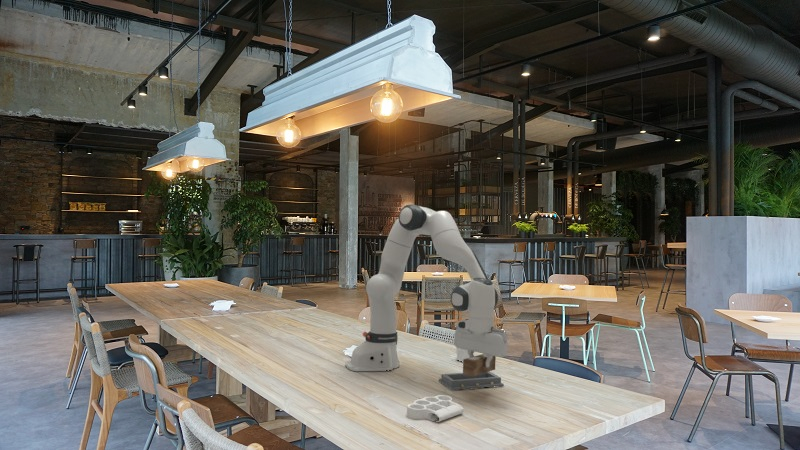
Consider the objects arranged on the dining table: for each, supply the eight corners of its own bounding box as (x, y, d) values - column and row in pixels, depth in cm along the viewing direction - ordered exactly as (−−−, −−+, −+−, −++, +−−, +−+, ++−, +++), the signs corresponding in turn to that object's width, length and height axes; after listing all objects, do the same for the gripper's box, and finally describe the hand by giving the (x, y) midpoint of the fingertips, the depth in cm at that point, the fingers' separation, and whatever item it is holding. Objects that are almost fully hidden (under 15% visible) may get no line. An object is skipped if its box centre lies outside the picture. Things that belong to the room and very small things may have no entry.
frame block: (472, 376, 169) (473, 361, 169) (462, 374, 172) (463, 358, 172) (495, 369, 179) (495, 354, 179) (485, 367, 182) (486, 352, 182)
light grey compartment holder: (432, 427, 147) (396, 414, 157) (470, 413, 159) (435, 401, 170) (432, 416, 147) (397, 403, 157) (470, 403, 159) (435, 391, 170)
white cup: (473, 359, 229) (473, 336, 229) (473, 363, 221) (474, 340, 221) (455, 358, 230) (456, 336, 230) (455, 362, 222) (456, 339, 222)
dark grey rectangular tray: (451, 390, 181) (451, 382, 181) (438, 381, 192) (438, 373, 192) (503, 386, 187) (503, 378, 187) (488, 377, 199) (488, 370, 199)
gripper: (512, 329, 171) (510, 370, 171) (462, 320, 185) (461, 357, 185) (502, 331, 167) (500, 373, 166) (452, 321, 180) (450, 360, 180)
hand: (479, 365), depth 176 cm, fingers closed on frame block, 4 cm apart
